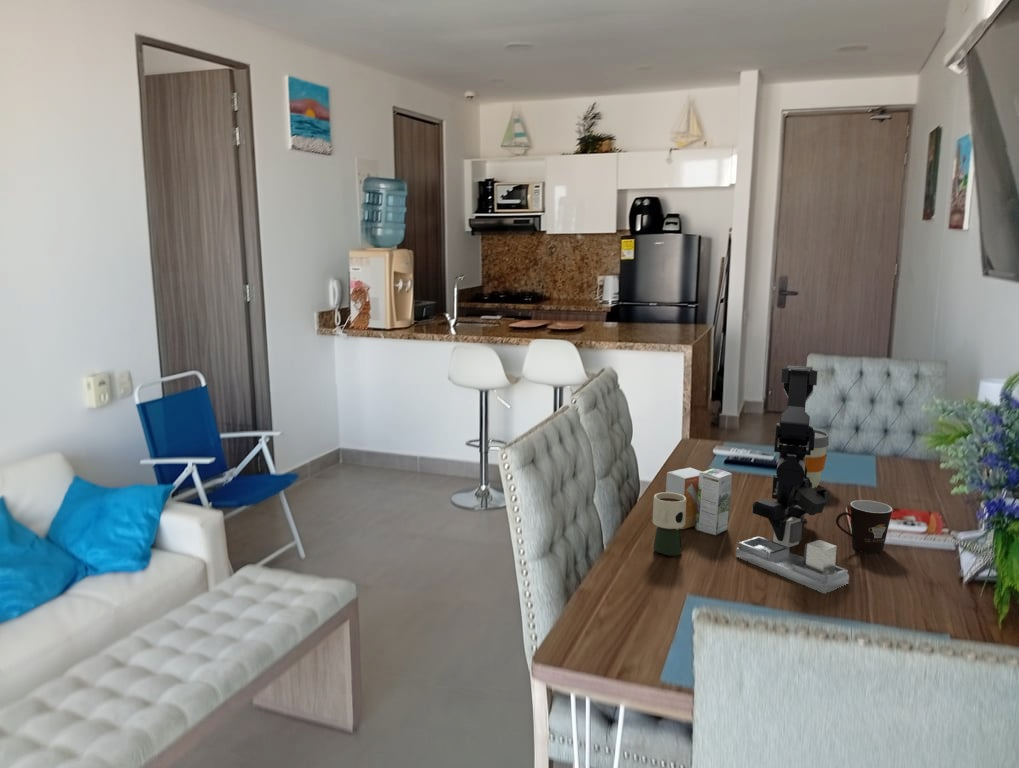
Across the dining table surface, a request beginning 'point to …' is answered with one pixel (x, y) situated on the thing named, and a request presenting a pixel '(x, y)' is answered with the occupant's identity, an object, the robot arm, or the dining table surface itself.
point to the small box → (685, 491)
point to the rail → (797, 562)
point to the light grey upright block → (791, 533)
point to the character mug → (668, 522)
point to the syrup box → (713, 501)
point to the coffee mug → (868, 525)
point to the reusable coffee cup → (817, 457)
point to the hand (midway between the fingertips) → (786, 538)
